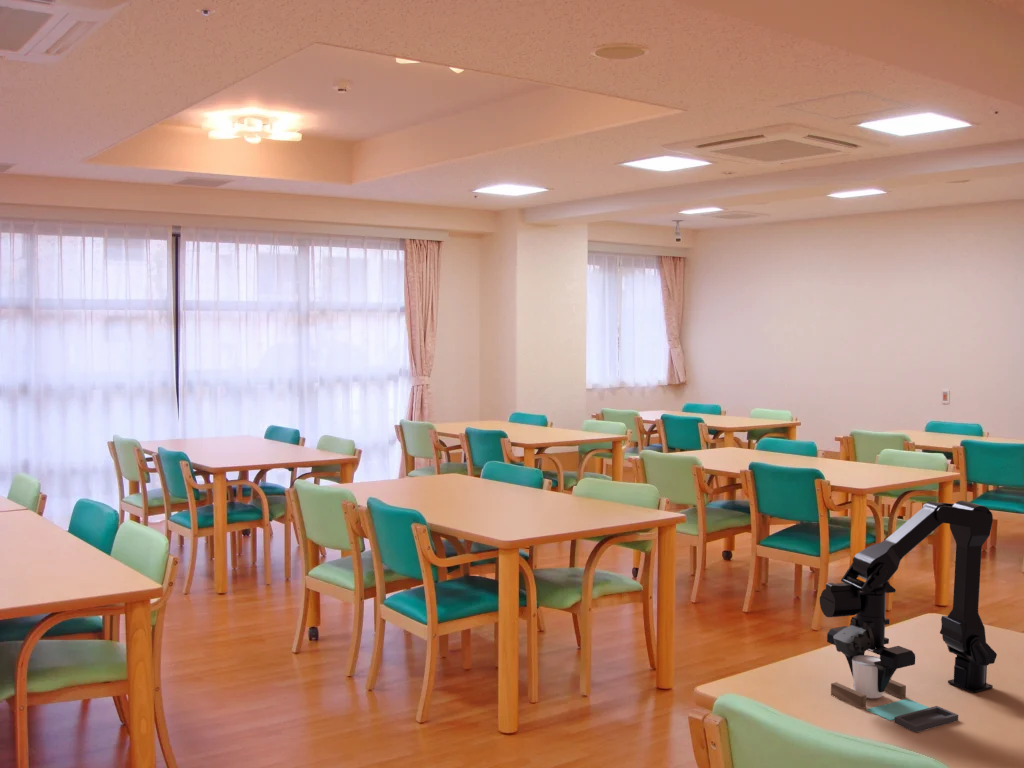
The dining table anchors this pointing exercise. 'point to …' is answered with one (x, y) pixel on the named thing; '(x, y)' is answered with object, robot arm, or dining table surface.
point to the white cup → (866, 675)
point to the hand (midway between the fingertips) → (868, 686)
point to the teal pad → (896, 709)
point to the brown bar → (859, 698)
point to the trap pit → (926, 719)
